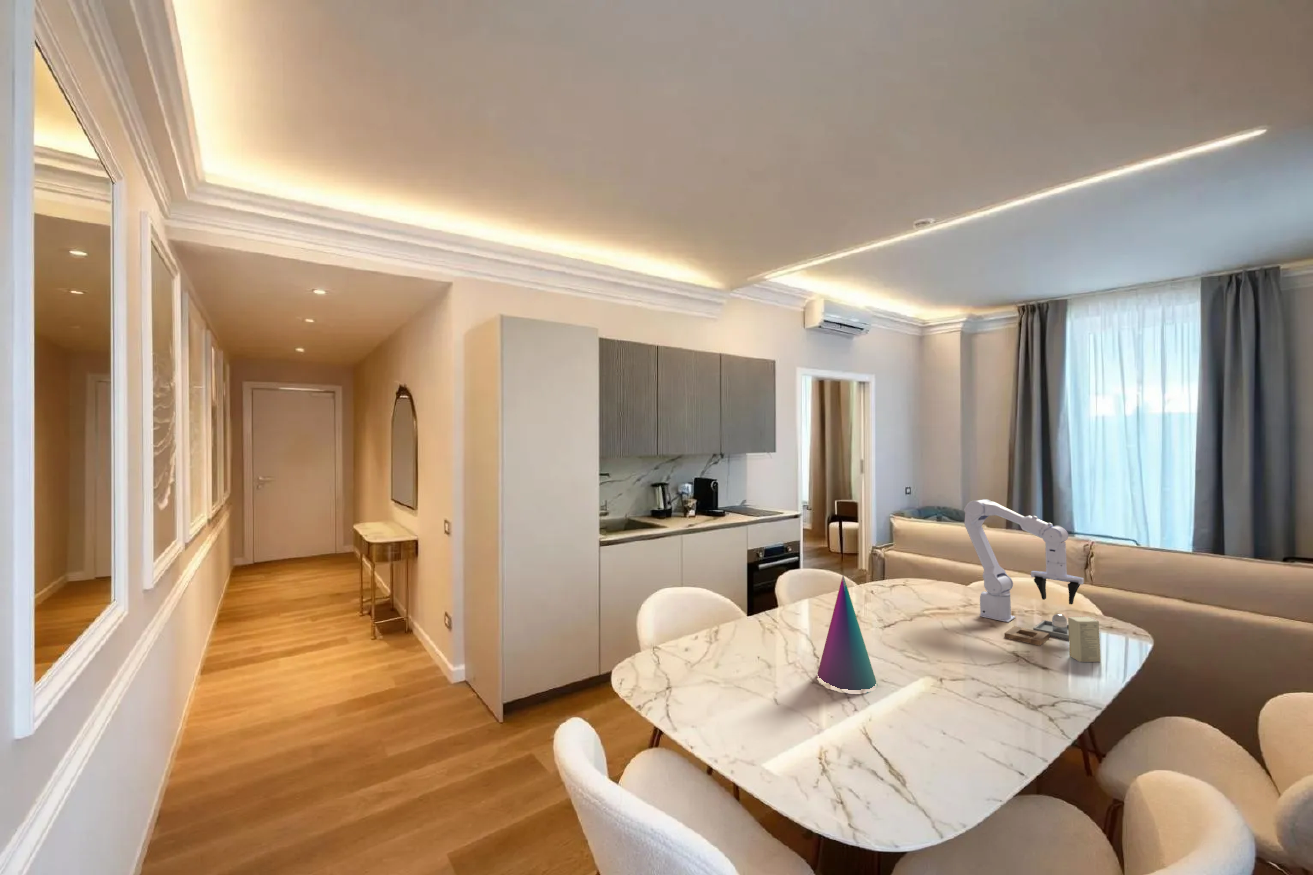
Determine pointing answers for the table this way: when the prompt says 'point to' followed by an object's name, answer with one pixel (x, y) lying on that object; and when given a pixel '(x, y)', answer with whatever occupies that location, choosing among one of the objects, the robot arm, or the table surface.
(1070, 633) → the skincare box
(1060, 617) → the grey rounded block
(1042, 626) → the tray
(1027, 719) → the table surface
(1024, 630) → the socket block
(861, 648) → the decorative cone
